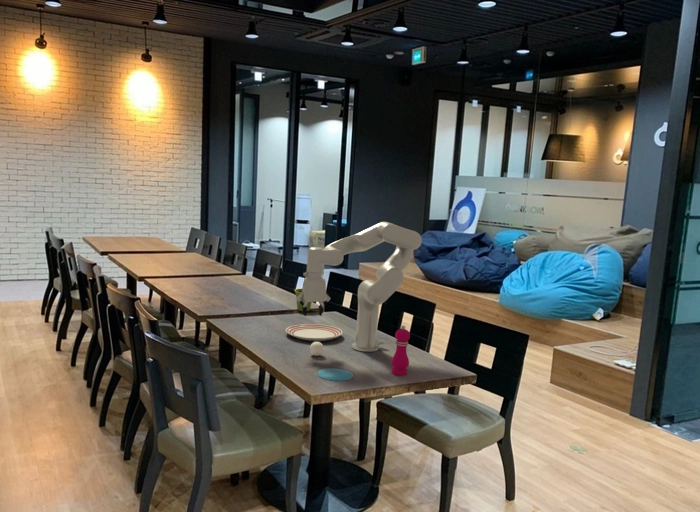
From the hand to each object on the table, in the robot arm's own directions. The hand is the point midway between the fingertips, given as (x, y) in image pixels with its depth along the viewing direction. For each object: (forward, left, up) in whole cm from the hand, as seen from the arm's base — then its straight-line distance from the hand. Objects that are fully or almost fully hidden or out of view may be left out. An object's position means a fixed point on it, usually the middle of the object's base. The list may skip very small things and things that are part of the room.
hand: (312, 314), depth 268 cm
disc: (0, +34, -16) cm, 38 cm away
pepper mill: (-27, +36, -16) cm, 48 cm away
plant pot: (-18, -74, -16) cm, 77 cm away
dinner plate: (-8, -21, -16) cm, 27 cm away
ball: (0, +9, -13) cm, 16 cm away
